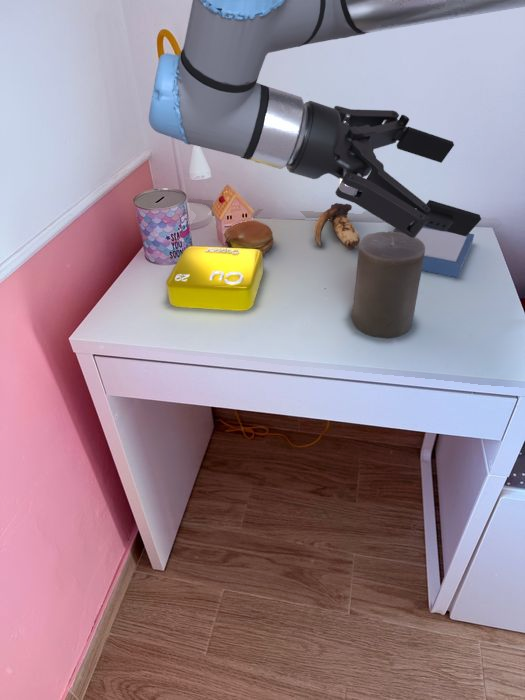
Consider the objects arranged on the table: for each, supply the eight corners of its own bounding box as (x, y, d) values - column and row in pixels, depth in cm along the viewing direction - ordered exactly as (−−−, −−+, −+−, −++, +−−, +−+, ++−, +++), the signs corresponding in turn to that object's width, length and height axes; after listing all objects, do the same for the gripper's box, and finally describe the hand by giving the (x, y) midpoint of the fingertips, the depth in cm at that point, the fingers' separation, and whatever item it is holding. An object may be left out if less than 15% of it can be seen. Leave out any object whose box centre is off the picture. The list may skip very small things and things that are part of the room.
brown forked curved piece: (306, 221, 117) (321, 257, 102) (306, 201, 114) (321, 235, 99) (347, 217, 117) (368, 252, 103) (348, 197, 114) (369, 230, 100)
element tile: (264, 268, 100) (264, 246, 97) (251, 312, 88) (250, 288, 85) (188, 264, 102) (185, 242, 99) (166, 307, 90) (162, 283, 87)
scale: (471, 245, 105) (474, 232, 103) (458, 277, 95) (461, 263, 93) (398, 232, 110) (399, 219, 108) (378, 261, 100) (379, 248, 99)
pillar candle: (388, 346, 80) (401, 259, 70) (339, 321, 85) (345, 237, 76) (424, 320, 85) (441, 236, 75) (376, 298, 90) (386, 216, 81)
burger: (273, 236, 110) (273, 215, 107) (272, 258, 103) (272, 236, 100) (227, 237, 111) (225, 216, 108) (223, 258, 103) (221, 237, 100)
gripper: (279, 103, 66) (422, 150, 72) (286, 240, 52) (463, 285, 58) (301, 45, 61) (455, 100, 66) (316, 181, 47) (510, 237, 52)
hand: (459, 186), depth 62 cm, fingers open, 13 cm apart
